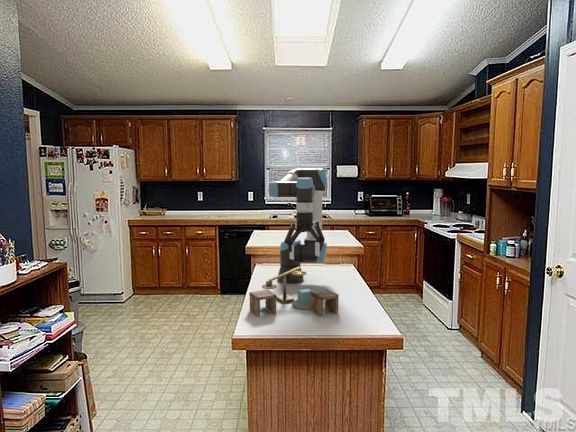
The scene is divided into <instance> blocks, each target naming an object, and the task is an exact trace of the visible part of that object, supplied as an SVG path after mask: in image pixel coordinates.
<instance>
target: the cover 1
mask: <svg viewBox="0 0 576 432" xmlns="http://www.w3.org/2000/svg"><path fill="white" fill-rule="evenodd" d="M276 296H277V294H275V292H273V291H271V290H270V289H263V290H256V291H255V290H254V291H249V312H251V313H252V314H253V315H254V316H255V317H257V318H260V317H261V301H263V300H264V301H265V309H267V310H268V311H269V312H270V313H272V314H273V315H276V314H277V300H276Z"/></svg>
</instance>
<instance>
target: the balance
mask: <svg viewBox="0 0 576 432" xmlns="http://www.w3.org/2000/svg"><path fill="white" fill-rule="evenodd" d="M300 267H301V266H300ZM300 267H297V268H295V269H292V270H290V271H288V272H285V273H283V274H281V275H278V274H277V275H276V276H274V277H272V278H269V279H268V280H267V281H265V284H263V285H261V288H262V289H263V290H274V289H277V284H274V283H273V281H276V280H277V279H278V278H280V277H282V276H283V283H282V294H279V295H276V301H278V302H279V303H281V304H288V303H292V302H293V301H294V300H295V298H294V297H292V296H290V295H289V294H287V283H286V275H287V274H289V273H291V272H292V274H293V275H296V276H303V277H304V276H306V275H307V271H303V270H302V271H300ZM298 269H299V271H296V270H298Z"/></svg>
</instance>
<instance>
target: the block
mask: <svg viewBox="0 0 576 432" xmlns="http://www.w3.org/2000/svg"><path fill="white" fill-rule="evenodd" d="M310 292H313V290H311V289H310V288H301V289H300V288H299V289H297V299H298V303H300V304H302V305H307V304H310Z"/></svg>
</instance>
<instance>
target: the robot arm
mask: <svg viewBox="0 0 576 432" xmlns="http://www.w3.org/2000/svg"><path fill="white" fill-rule="evenodd" d="M326 172H327V171H326V170H325V168H322V167H314V168H313V167H311V168H310V167H308V168H305V167H304V168H303V167H302V168H300V167H299V168H295V169H291V170H289V171H287V172H285V173H284V174H283V175H282V177H281V179H280V180H278V181H271V182H269V183H268V195H269V197H270V198H296V200H295V201H296V202H295V203H296V216H295V218H296V223H294V222H290V223H289V228H288V231H287V234H286V237H285V238H284V241H281V242H280V246H279V247H280V248H279V259H280V264H279V266H280V267H279V270H278V273H277V276H278V275H281V274H283V273H285V272H288V271H290V270H292V269H295V268H297V267H300V271H303V270H302V268H301V263H302V264H303V263H304V264H323V263H325V260H326V254H327V249H328V243H327V242H325V239H326V238H325V237H324V234H323V195H324V194H325V192H326V190H327V189H328V179H327V173H326ZM301 233H306V237H305V238H304V239H303V241H304V242H301V239H298V237H299V236H300V234H301ZM296 271H299V269H298V270H296ZM276 280H277V282H280V283H282V284H283V276H282V277H280V278H278V279H276ZM304 280H305V279H304V275H303V276H296V275H293V274H292V272H291V273H289V274H287V275H286V284H299V283H301V282H303V281H304Z"/></svg>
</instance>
